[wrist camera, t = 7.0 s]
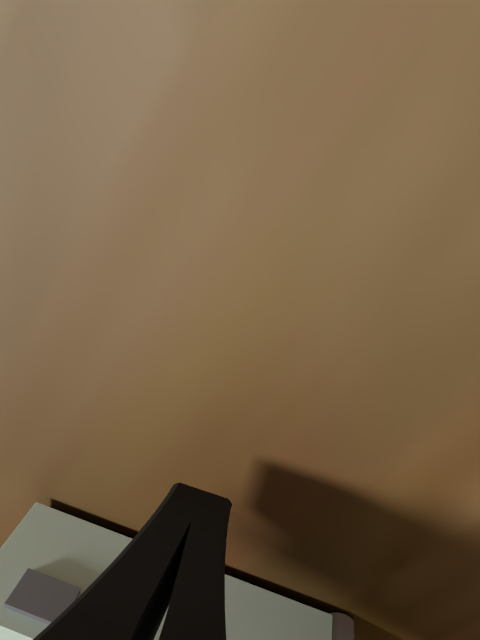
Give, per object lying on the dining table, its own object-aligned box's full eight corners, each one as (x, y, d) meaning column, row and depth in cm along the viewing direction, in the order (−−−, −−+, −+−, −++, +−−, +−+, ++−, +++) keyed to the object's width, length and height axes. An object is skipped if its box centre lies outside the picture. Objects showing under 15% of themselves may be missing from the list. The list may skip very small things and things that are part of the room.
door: (347, 634, 14) (346, 796, 11) (38, 516, 15) (-49, 634, 12) (361, 615, 14) (364, 780, 11) (39, 493, 15) (-52, 611, 11)
